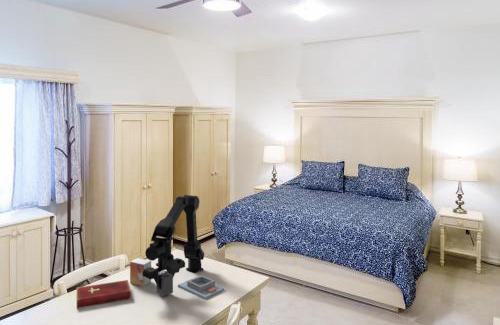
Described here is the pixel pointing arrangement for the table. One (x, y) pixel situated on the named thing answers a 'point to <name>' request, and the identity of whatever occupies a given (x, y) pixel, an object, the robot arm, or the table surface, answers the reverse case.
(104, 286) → the hardcover book
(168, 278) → the plug
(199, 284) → the socket block
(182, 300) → the table surface
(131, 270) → the small box
